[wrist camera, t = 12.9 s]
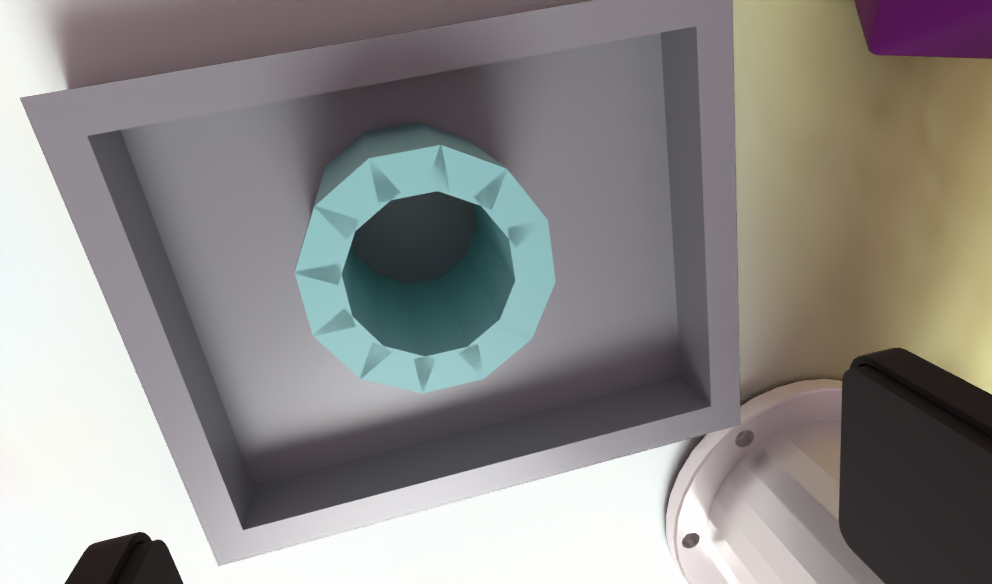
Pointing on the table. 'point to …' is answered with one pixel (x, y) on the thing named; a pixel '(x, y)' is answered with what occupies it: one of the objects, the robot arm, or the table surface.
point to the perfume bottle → (927, 27)
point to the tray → (416, 257)
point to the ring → (432, 303)
